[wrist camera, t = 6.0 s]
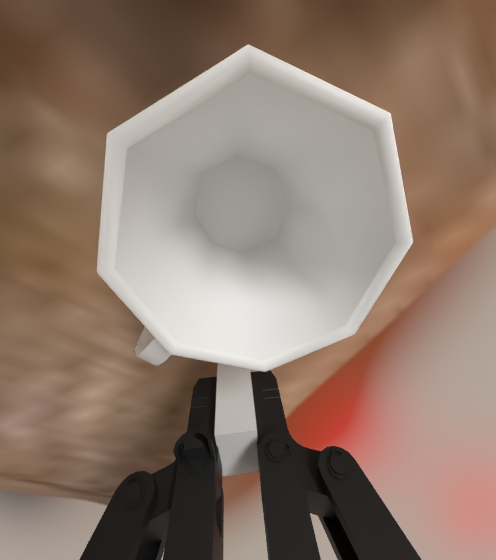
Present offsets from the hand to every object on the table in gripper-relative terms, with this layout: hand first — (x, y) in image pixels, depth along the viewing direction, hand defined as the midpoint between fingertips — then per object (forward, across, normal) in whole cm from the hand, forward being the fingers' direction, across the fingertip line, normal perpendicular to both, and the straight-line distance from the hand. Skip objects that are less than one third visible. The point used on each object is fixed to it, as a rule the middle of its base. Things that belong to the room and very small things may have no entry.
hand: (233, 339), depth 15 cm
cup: (+2, 0, +7) cm, 7 cm away
